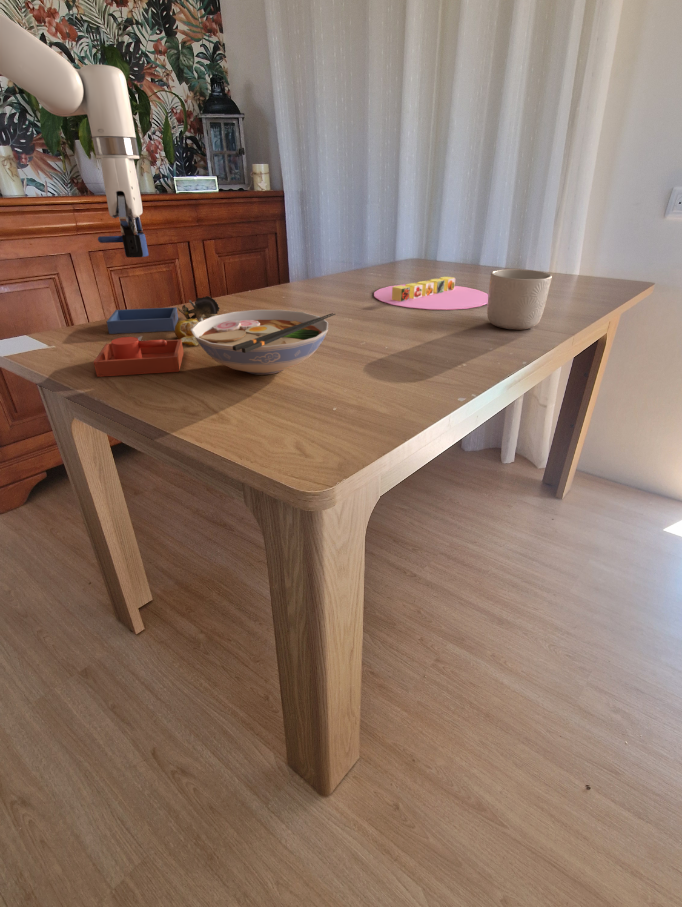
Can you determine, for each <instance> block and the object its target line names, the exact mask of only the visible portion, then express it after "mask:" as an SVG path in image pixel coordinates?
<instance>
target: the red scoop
mask: <svg viewBox="0 0 682 907" xmlns="http://www.w3.org/2000/svg"><path fill="white" fill-rule="evenodd" d="M166 340H167V339H166ZM166 340H165V339H150V340H148V339H147V340H139V338H138V337H134V336H123V337H122V336H121V337H118V338H115V339H112V340H111V342H110V343H111V344H112V348H113V352H114V357H115V360H118V359H134V358H142V354H141V349H140V348H147V347H164V346H166V345H167V342H166Z"/></svg>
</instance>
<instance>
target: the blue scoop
mask: <svg viewBox="0 0 682 907" xmlns="http://www.w3.org/2000/svg"><path fill="white" fill-rule="evenodd" d="M138 235H140V240H141V246H142V251H143V256H142V257H141V258H146V257H149V256H150V255H149V248H148V245H147V239H146V234H145V233H144V234H142V233H138ZM97 241H98V242H99V243H100V244H109V243H110V244H112V243H114V244H116V243H122V245H123V246H124V244H123V239H122V235H99V236H98V237H97ZM123 250H124V251H125V249H124V248H123ZM124 256H126V254H125V253H124Z"/></svg>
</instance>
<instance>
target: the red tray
mask: <svg viewBox="0 0 682 907" xmlns="http://www.w3.org/2000/svg"><path fill="white" fill-rule="evenodd" d="M166 342H167V345H166V346H164V347H147V348H140V349H141V354H142V358H134V359H118V360H115V357H114V352H113V348H112V344H111V342H110V343H109V342H107V343H105V344H104V346H103V348H102V349H101V350H100V352H99V353H98V355H97V356H96V358H95V359H94V361H93V366H94V370H95V374H96V377H97V378H99V377H100V378H101V377H115V376H132V375H145V374H146V375H147V374H161V373H162V374H163V373H164V374H165V373H176V372H177V373H179V372H180V370H181V365H182V361H183V357H184V353H185V352H184V347H183V344H182V340H178V339H166Z"/></svg>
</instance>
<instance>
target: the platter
mask: <svg viewBox="0 0 682 907" xmlns="http://www.w3.org/2000/svg"><path fill="white" fill-rule="evenodd" d="M455 284H456V277H452V276H441V277H438V278H431V279H428V280H421V281H416V282H411V283H403V284H396V285H395V284H394V285H389V286H386V287H381V288H379V289H377V290H376V291H374V292H373V297H374V298H375V299H377V300H378V301H380V302H381V303H385V304H388V305H391V306H397V307H402V308H407V309H416V310H419V309H420V310H428V311H430V310H432V311H434V310H435V311H437V310H438V311H439V310H440V311H453V310H465V309H473V308H477V307H483V306H484V305H487V304H488V294H489V293H487V292H484V291H482V290H479V289H475V288H472V287H469V286H468V287H467V286H462V285H461V286H460V285H455Z"/></svg>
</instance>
